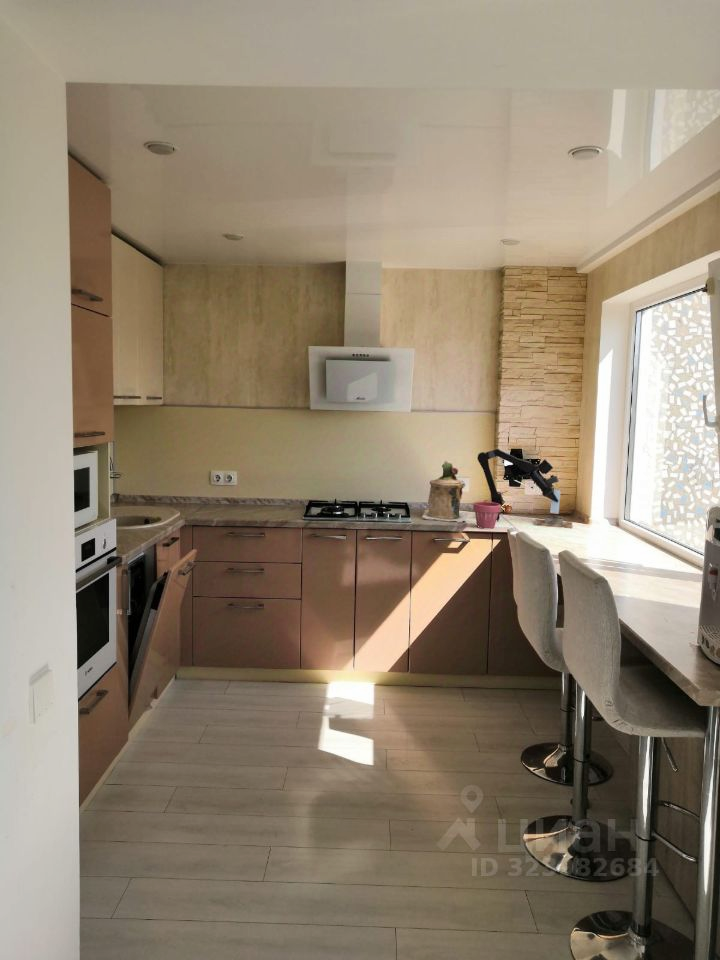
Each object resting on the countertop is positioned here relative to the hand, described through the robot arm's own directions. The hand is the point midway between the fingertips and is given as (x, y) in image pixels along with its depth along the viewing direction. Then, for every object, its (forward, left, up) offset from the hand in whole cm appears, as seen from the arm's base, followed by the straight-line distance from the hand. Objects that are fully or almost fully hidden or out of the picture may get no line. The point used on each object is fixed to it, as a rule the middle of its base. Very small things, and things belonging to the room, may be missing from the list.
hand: (557, 501), depth 413 cm
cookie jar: (-61, +8, -14) cm, 63 cm away
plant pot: (-42, -17, -14) cm, 47 cm away
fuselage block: (-1, 0, -7) cm, 7 cm away
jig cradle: (-1, 0, -13) cm, 13 cm away
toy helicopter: (-26, +34, -14) cm, 45 cm away
